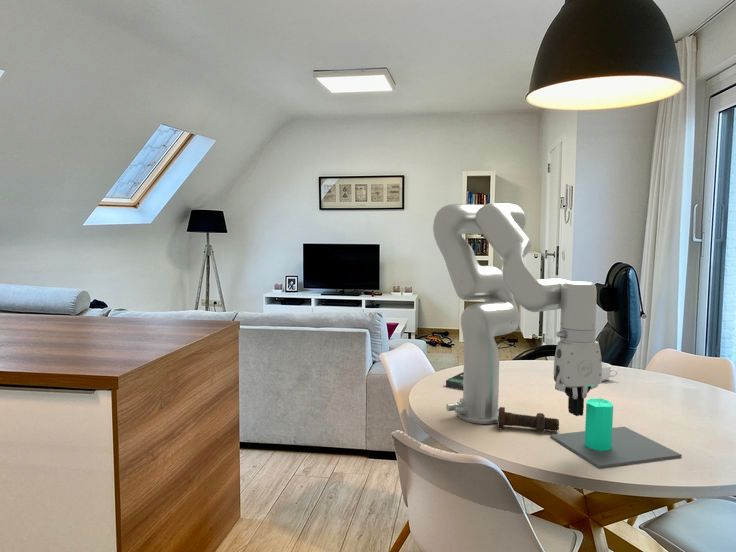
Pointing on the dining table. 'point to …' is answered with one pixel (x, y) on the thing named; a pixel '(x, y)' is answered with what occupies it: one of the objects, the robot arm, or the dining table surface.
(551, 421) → the bolt
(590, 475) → the dining table surface
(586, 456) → the mat
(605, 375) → the teacup
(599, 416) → the candle
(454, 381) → the disk drive
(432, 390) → the dining table surface
